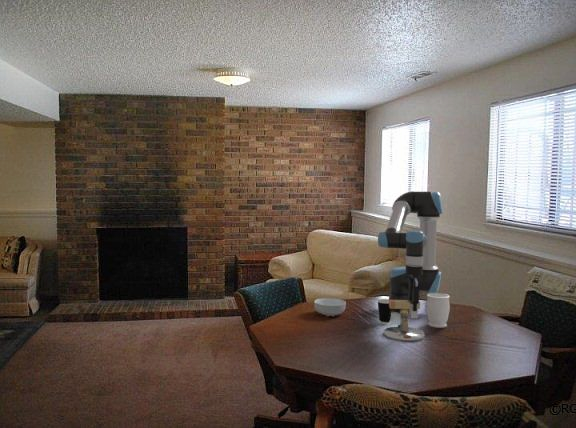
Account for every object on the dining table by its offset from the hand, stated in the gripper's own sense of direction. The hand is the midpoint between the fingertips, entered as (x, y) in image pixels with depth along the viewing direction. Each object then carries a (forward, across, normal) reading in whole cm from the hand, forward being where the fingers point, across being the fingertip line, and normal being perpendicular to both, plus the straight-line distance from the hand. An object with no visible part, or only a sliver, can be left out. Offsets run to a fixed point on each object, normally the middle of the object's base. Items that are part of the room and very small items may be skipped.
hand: (413, 316), depth 219 cm
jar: (+9, -17, +15) cm, 24 cm away
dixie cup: (+9, -20, -10) cm, 24 cm away
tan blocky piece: (+6, 0, -4) cm, 7 cm away
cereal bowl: (+9, -33, -37) cm, 50 cm away
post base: (+9, 0, -4) cm, 10 cm away
